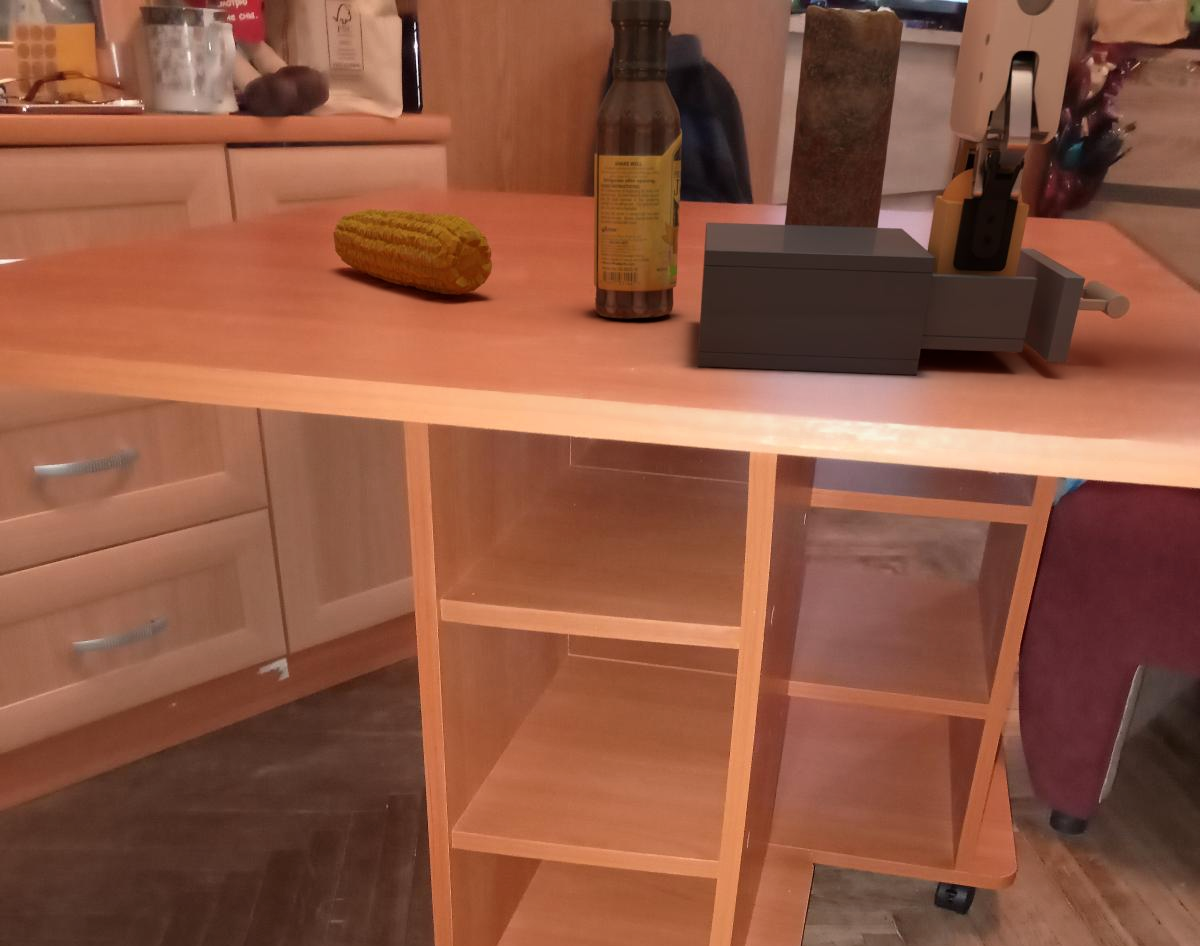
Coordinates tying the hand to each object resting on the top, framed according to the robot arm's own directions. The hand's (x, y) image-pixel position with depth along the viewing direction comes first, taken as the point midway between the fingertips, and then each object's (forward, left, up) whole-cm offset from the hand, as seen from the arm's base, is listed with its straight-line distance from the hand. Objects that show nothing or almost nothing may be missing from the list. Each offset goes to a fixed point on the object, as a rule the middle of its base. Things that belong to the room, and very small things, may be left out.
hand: (970, 260), depth 75 cm
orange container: (0, 0, -4) cm, 4 cm away
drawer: (-1, 0, -5) cm, 5 cm away
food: (+42, -20, -6) cm, 47 cm away
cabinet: (+10, 0, -6) cm, 12 cm away
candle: (+7, -18, -6) cm, 20 cm away
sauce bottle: (+22, -10, -6) cm, 25 cm away
